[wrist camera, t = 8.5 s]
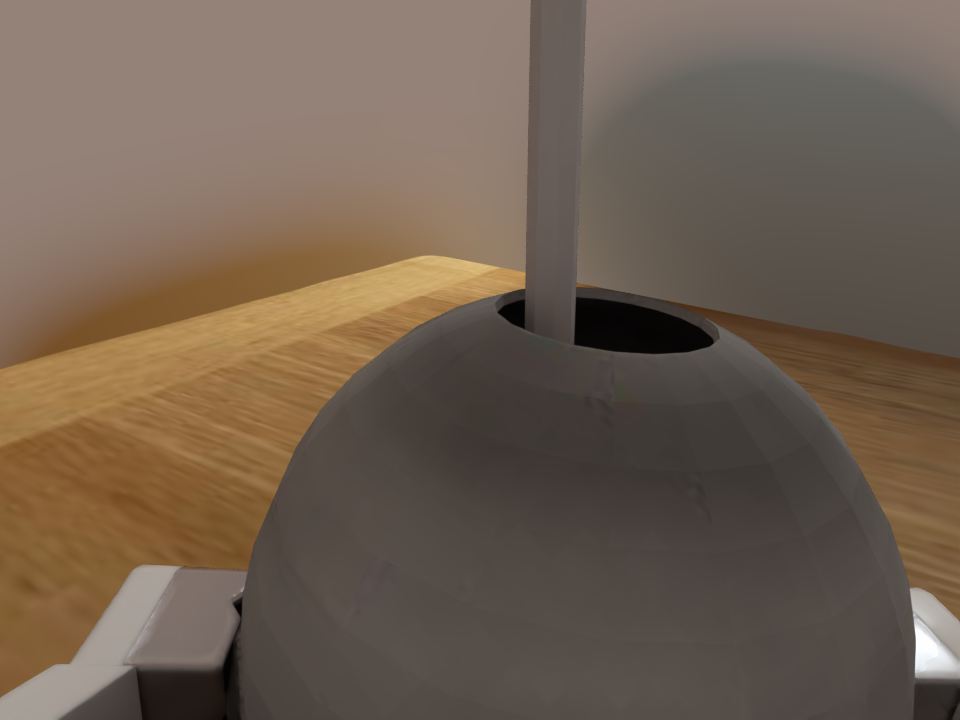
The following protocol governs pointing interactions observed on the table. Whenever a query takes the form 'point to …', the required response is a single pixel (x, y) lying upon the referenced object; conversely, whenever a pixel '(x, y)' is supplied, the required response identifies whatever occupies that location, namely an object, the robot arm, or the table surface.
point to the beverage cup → (572, 510)
